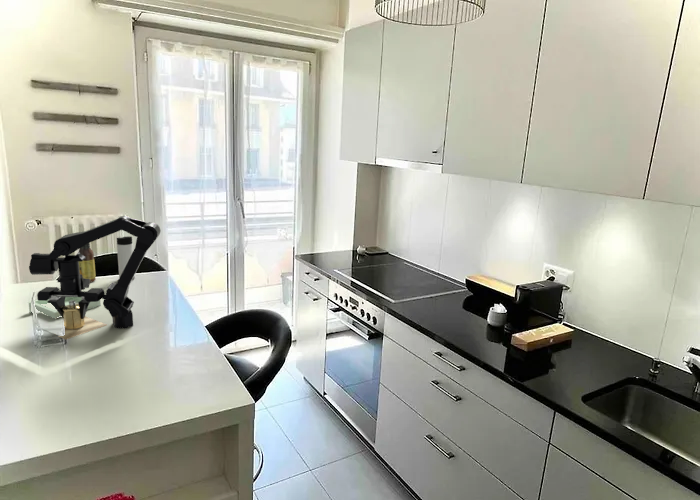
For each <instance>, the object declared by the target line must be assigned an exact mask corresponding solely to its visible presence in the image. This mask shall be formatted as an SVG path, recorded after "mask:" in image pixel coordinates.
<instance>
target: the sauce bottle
mask: <svg viewBox="0 0 700 500" xmlns="http://www.w3.org/2000/svg"><path fill="white" fill-rule="evenodd" d="M78 253H80V254H81V255H83V256H85V257H86V258H85V259H84V260H83V261H80V262H79V270H80V274H82V276H83V278H85V279H90V283H93V282H95V281H96V277H97V276H96V264H95V254H94V251H93V249H92V248H91V242H90V243H88V244H86V245H84V246H83V247H81V248H80V249H78V252H77V254H78Z"/></svg>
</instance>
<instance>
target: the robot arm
mask: <svg viewBox="0 0 700 500" xmlns="http://www.w3.org/2000/svg"><path fill="white" fill-rule="evenodd" d="M120 231H123V232H126V233H128V234H129V235H131V236H133V237H136V241H135V246H134V248H133V253H132V255H131V257H130V259H129V261H128V263H127V264H126V266H125V268H124V270H123V272H122V274H121V276H120V278H119V277H118V280H117V283H114V282H111V283H110V285H109V286H108V287H107V289H106V292H105V290H104V289H103V288H97V287H94V288H93V287H92V288H90V284H91V282H90V279H85V278H83V276H82V274H80V270H79V262H80V261H83V260H84V259H85V258H86V257H85V256H83V255H81V254H80V253H78V252H77V253H76V254H73V253H74V252H76V251H79V249H80V248H81V247H83V246H84V245H86V244H88V243H90V244H91V243H92V242H95V241H97V240H100V239H103V238H104V237H108V236H110V235H112V234H114V233H118V232H120ZM160 234H161V228H160V226H159V224H157V223H156V222H154V221H149V222H146V221H144V220H141V219H135V218H132V217H129V216H126V215H120V216H119V217H117V218H116V219H113V220H111V221H110V220H109V221H108V222H105V223H103V224H101V225H97V226H96V227H95V226H94V227H92V228H90V229H88V230H87V229H86V230H85V231H79V232H72V233H68V234H64V235H63V236H61V237H59V238H58V239H56V240H54V243H53V249H52V251H51V252H50V253H40V252H34V253H32V254H31V256H30V257H31V258H30V261H29V265H28V270H29V272H30V274H31V275H34V276H35V275H37V276H38V275H39V276H40V275H54V274H55V273H56V272H57V271H58V276H59V277H58V278H57V279H56V280H57V283H59V285H60V288H59V287H57V286H56V287H55V286H46V287H44V288H42V289H40V290H39V291H38V292H37V293H36V300H42V301H47V300H48V299H49V301H48V303H51V304H52V305H53V306H54V307H55V309H54V310H56V311H58V312H59V314H60V315H61V316H62V319H63V320H64V317H63V307H64V306H65V298H66V297H82V300H81V301H80V302H78V303H77V304H79V309H80V316H81V319H84V317H85V316H86V314H87V311H88V310H87V308H88V305H89V303H90V302H97V301H99V300H100V301H101V299H102V300H103V301H102V304H103V307H104V308H105V310H107V311H108V313H109V314H110V316H111V317H112V325H113V328H115V329H129V328H131V327H134V314H133V312H132V308H133V307H134V303H135V302H134V300H132V299H131V298H130V297H128V294H129V289H130V285H131V282H132V281H133V280H134V279H133V277H134V276H135V275H136V273H137V271H138V269H139V268H140V265H141V263H142V261H143V259H144V257H145V256H146V253H147V251H148V250H149V249H150V248H151V246H152V245H153V244H154V242H156V240H157V239H158V237H159V236H160ZM132 279H133V280H132ZM89 288H90V289H89ZM86 289H88V290H87V291H84V290H86Z"/></svg>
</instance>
